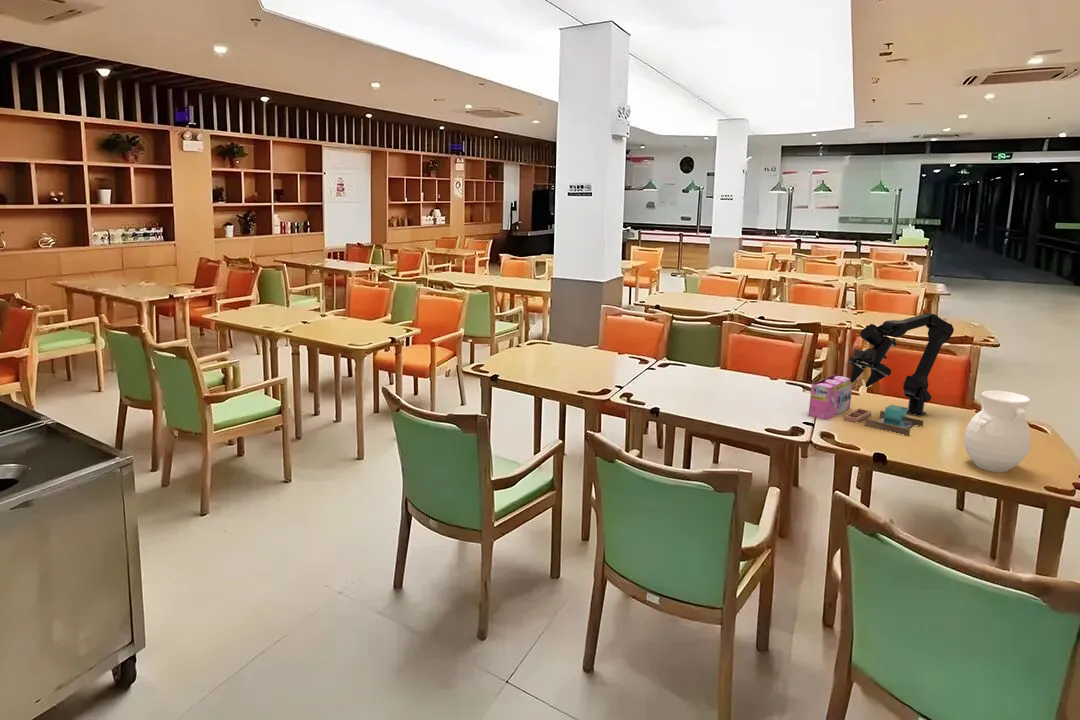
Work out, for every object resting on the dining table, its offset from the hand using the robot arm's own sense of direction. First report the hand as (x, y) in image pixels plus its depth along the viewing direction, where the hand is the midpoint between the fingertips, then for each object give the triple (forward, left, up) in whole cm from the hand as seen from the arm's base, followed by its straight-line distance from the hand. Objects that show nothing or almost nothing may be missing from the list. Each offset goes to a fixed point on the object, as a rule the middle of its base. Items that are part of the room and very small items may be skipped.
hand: (858, 384), depth 277 cm
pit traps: (-4, 0, -15) cm, 15 cm away
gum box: (-3, -11, -15) cm, 19 cm away
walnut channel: (-4, +14, -15) cm, 21 cm away
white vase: (+15, +52, -15) cm, 56 cm away
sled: (-4, +14, -15) cm, 21 cm away
